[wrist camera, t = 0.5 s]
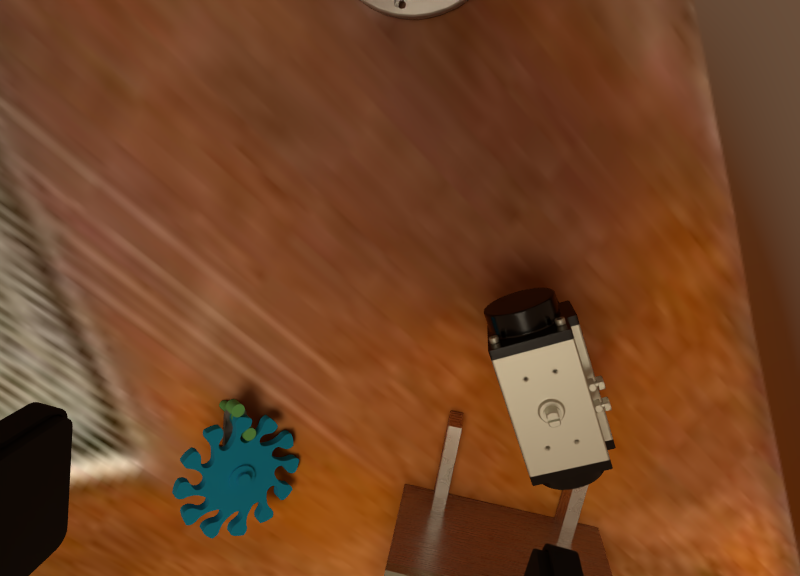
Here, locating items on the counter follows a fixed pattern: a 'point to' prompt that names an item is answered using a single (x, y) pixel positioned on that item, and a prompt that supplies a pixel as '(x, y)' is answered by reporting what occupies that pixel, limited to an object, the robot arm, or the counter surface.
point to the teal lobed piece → (235, 472)
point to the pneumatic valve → (549, 388)
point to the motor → (482, 529)
